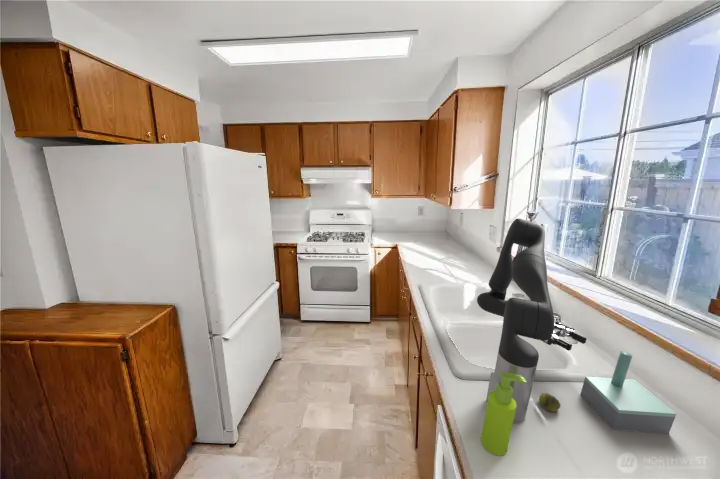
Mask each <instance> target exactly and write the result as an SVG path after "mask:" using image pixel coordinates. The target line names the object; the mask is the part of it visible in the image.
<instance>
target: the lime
mask: <svg viewBox="0 0 720 479" xmlns="http://www.w3.org/2000/svg"><path fill="white" fill-rule="evenodd" d="M538 401H539V404H540V406H541V407H542V409H544V410H546V411H548V412H551V413H552V412H553V413H554V412H557V411H559V409H560V408H561V403H560V402H559V400H558V399H557V398H556V397H555V396H554V395H553V394H550V393H547V392H545V393H543V392H542V393H540V394H539V397H538Z"/></svg>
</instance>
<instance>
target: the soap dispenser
mask: <svg viewBox="0 0 720 479" xmlns="http://www.w3.org/2000/svg"><path fill="white" fill-rule="evenodd" d="M499 374H500V377H501V379H502V382H499V383H498V384H497V386H496V391H491V392H490V393H489V396H488V402H487V401H486V402H487V403H486V408H485V415H484V418H483V419H484V420H483V424H482V431H481V436H480V441H481V445H482V446H483V448H484V449H485V450H486V451H487V452H488V453H490V454H492V455H494V456H498V457H501V456H504V455H506V454H507V452H508V448H509V443H510V439H511V433H512V430H513V425H514V423H513V420H514V416H515V411H516V406H517V405H516V402H515V400H514V399H513V398H512V393H513V389H512V387H511V386H510V381H517V382H521V383H524V384H526V383H527V381H526V379H525V377H523V376H521V375H518V374H514V373H507V372H500V373H499Z"/></svg>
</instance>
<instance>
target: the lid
mask: <svg viewBox="0 0 720 479" xmlns="http://www.w3.org/2000/svg"><path fill="white" fill-rule="evenodd" d="M632 359H633V354H632V353H629V352H627V351H625V350H622V351H620V352H619V355H618V358H617V361H616V364H615V367H614V371H613V374H612V376H611V377H603V376H602V377H600V376H585V377H584V380H586V381H587V382H588V383H589V384H590V385H591V386H592V387H593V388H594V389H595V390H596V391H597V392H598V393H599V394H600V395H601V396H602V397H603V398H604V399H605V400H606V401H607V402H608V403H609V404H610V405H611V406H612V407H613V408H614V409H615V410H616V411H617V412H618V413H623V414H638V415H653V416H668V417H675V418H676V417H677V413H676V412H675V411H674V410H673V409H671V408H670V407H669V406H667V405H666V404H665V403H664V401H662V400H660V399H659V398H658V397H657V396H655V395H654V394H653V393H652V392H650V391H649V390H648V389H646V388H645V387H644V386H643V385H642V384H641V383H639V382H638V381H637V380H635V379H633V378H632V379H631V378H626V377H627V375H628V374H627V373H628V371H629V368H630V364H631V362H632Z"/></svg>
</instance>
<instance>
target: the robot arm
mask: <svg viewBox="0 0 720 479" xmlns="http://www.w3.org/2000/svg"><path fill="white" fill-rule="evenodd" d="M510 224H511V225H510V226H509V227H508V231H507V233H506V236H505V239H504V242H503V244H502V248H501V251H500V253H499V257H498V260H497V263H496V266H495V268H494V270H493V272H492V275H491V276H490V278H489V282H488V286H489V288H490V290H489V291H486V292H483V293H480V294H479V295H477V298H476V302H477V305H478V306H479V308H480V309H482V310H483V311H485V312H488V313H491V314H494V315H497V316H500V317H502V318H503V320H502V321H503V322H502V330H501V334H500V335H501V337H500V341H499V346H498V351H497V355H496V362H495V367H494V372H493V371H492V372H490V376H489V382H488V387H487V394H486V402H488V396H489V393H490V392H491V391H496V386H497V384H498V383H499V382H502V379H501V377H500V374H499V373H500V372H507V373H514V374H518V375H521V376H523V377H525V379H526V381H527V383H526V384H524V383H521V382H517V381H510V386H511V387H512V389H513V393H512V398H513V399H514V400H515V402H516V405H517V406H516V411H515V416H514V420H513V424H520V423H522V422H524V421H525V419H526V415H527V412H528V407H529V403H530V397H531V395H532V394H531V393H532V389H533V383H534V380H535V377H536V371H537V367H538V362H539V358H540V357H539V351H538V349H536V347H535V346H534V345H532V344H531V343H529V341H526V340H525V339H523V338H521V337H525V338H528V339H533V340H537V341H542V342H543V343H545V344H547V345H548V346H552V345H555V346H556V345H557V346H559V347H561V348H563V349H564V350H566V351H571V350H572V347H573V344H572V343H570V342H568V341H566V340H565V339H563V338H565V337H567V338H571V339H572V340H575V341H577V342H579V343H580V344H586V343H587V340H588V339H587V337H586V336H583V335H582V334H579V333H578V332H575V331H576V328H575V327H573V326H571V325H568V324H566V323H564V322H561V321H559V320H555V316H554V315H555V314H554V309H553V305H552V300H551V296H550V293H549V286H548V271H547V264H546V257H545V238H546V231H545V228H544V226H543V225H542V224H539V223H536V222H533V221H530V220H526V219H522V218H516V219H514V220H513V221H512V222H511V223H510ZM514 245H518V246H522V247H525V249H523V250H521V251H519V252H518V253H516V254H515V256H514V257H513V256H512V251H513V250H512V249H513V246H514ZM512 280H513V281H514V283H515V284H516V285H517V287H518V288H519V289H520V290H521V291H522V292H523V293H524V294H525V295H526V296H527V297H528V298H529V300H528V299H524V298H521V297H513V296H512V297H510V298H508V299H507V300H506V295H507V291H508V288H509V286H510V284H511V283H512ZM520 336H521V337H520ZM560 337H561V338H560Z"/></svg>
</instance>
